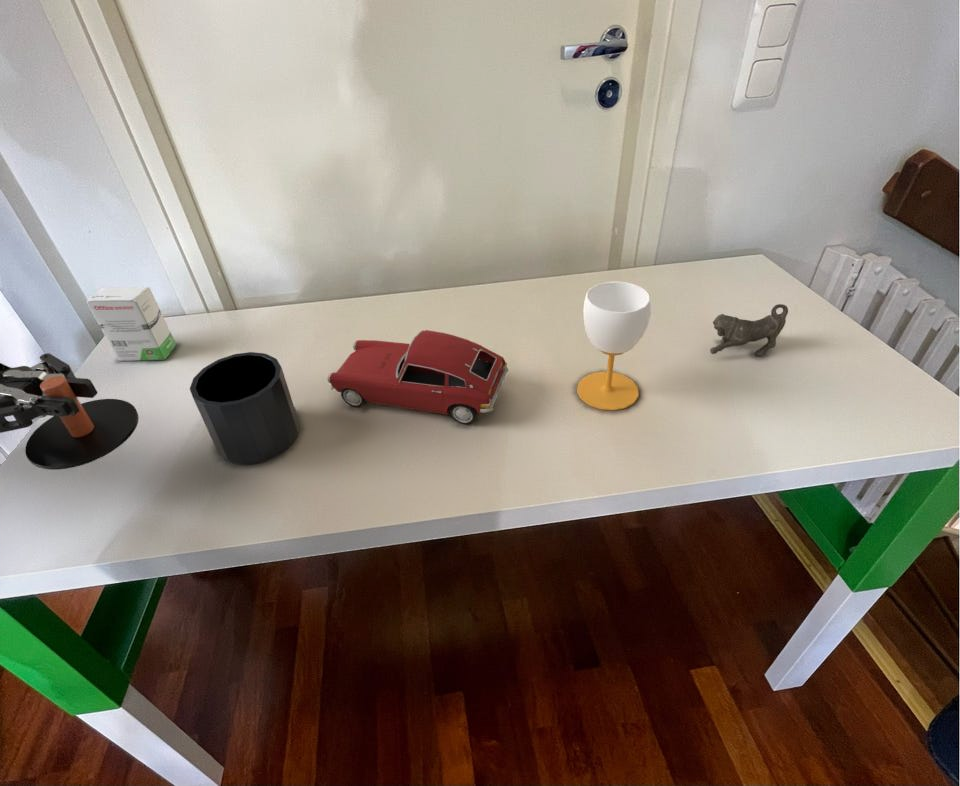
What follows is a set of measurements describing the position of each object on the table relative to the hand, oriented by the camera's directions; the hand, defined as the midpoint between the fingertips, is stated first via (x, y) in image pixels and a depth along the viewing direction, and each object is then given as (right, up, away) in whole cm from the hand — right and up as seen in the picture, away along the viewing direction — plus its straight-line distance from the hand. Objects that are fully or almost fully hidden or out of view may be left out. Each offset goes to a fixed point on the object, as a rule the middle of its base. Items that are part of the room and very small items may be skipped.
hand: (83, 397), depth 69 cm
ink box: (-11, +7, +33) cm, 36 cm away
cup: (+65, +1, +19) cm, 68 cm away
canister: (+15, -6, +15) cm, 22 cm away
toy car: (+37, 0, +21) cm, 43 cm away
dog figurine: (+88, +8, +26) cm, 92 cm away
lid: (-3, -4, +4) cm, 7 cm away
